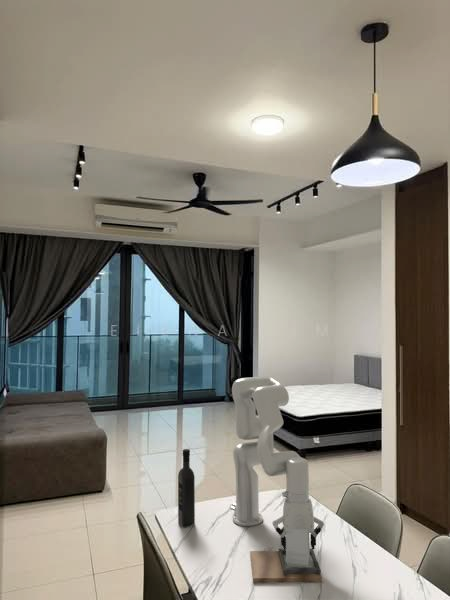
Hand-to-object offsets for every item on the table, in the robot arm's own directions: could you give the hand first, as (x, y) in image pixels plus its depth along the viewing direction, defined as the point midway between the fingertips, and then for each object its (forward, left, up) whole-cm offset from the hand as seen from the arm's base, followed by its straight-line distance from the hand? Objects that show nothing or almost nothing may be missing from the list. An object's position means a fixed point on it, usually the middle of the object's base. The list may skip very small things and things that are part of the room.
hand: (298, 547), depth 143 cm
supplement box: (0, 0, -5) cm, 5 cm away
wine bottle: (-51, -6, -7) cm, 52 cm away
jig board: (-3, -4, -7) cm, 8 cm away
